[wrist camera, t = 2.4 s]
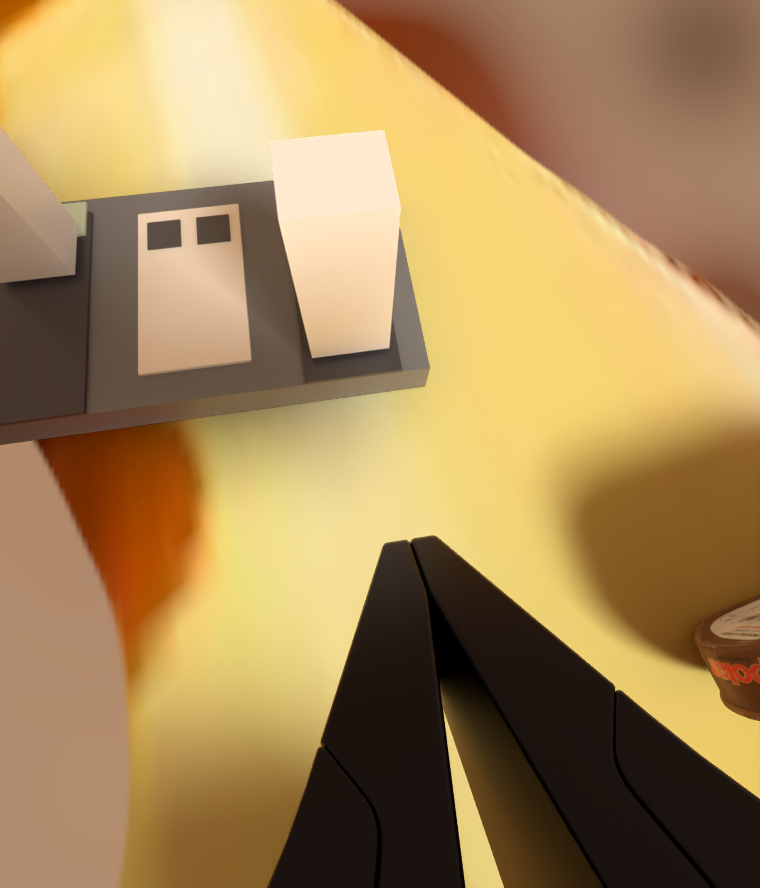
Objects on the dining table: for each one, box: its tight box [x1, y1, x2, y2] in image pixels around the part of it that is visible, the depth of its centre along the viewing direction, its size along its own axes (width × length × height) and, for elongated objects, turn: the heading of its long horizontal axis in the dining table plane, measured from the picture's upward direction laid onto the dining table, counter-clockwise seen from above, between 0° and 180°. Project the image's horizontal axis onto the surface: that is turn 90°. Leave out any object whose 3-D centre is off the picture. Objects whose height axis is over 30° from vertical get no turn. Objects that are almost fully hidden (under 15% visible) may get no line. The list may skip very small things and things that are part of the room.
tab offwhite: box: [269, 130, 401, 358], centre depth 17 cm, size 3×4×8 cm
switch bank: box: [0, 181, 430, 445], centre depth 23 cm, size 12×21×2 cm, turn 99°
